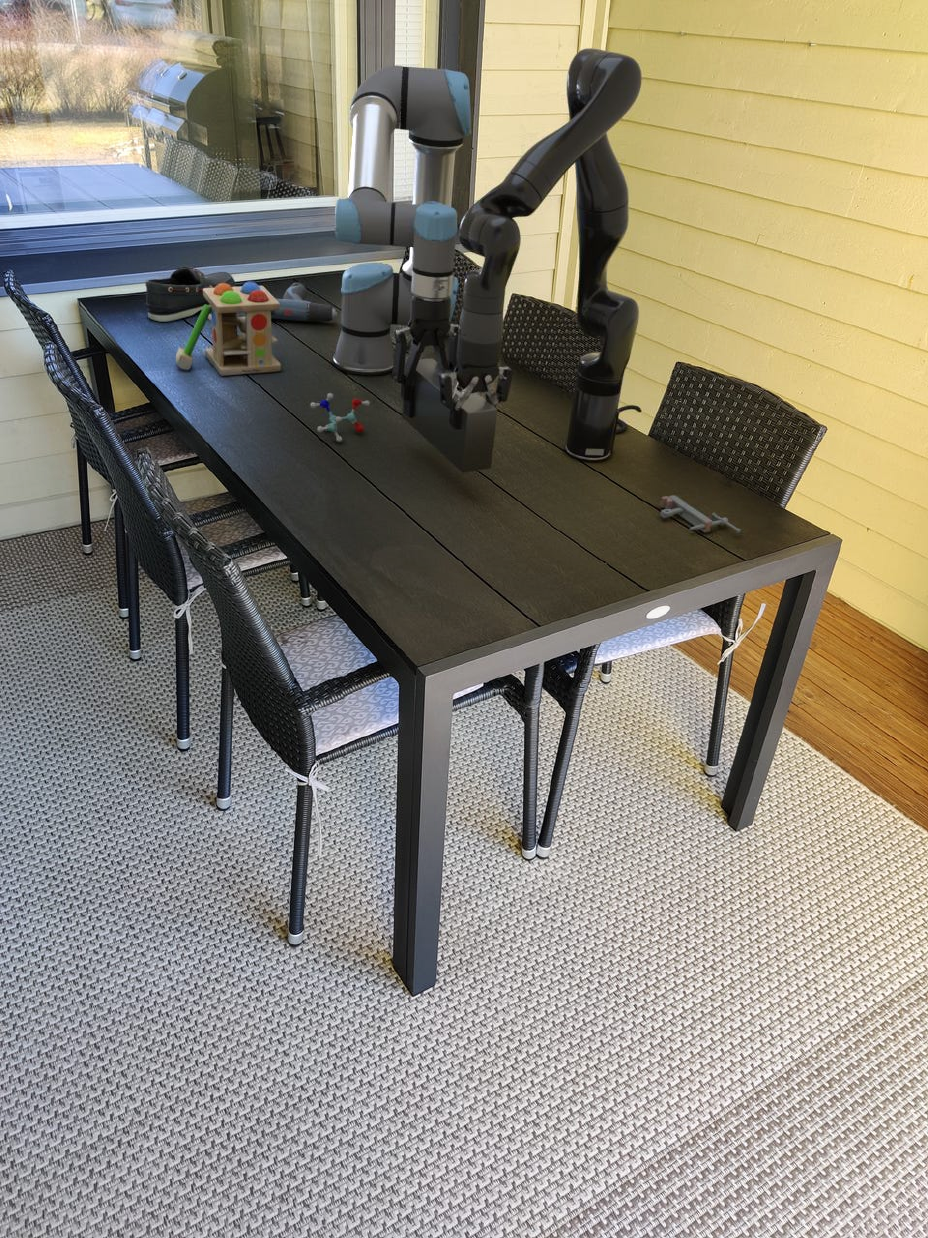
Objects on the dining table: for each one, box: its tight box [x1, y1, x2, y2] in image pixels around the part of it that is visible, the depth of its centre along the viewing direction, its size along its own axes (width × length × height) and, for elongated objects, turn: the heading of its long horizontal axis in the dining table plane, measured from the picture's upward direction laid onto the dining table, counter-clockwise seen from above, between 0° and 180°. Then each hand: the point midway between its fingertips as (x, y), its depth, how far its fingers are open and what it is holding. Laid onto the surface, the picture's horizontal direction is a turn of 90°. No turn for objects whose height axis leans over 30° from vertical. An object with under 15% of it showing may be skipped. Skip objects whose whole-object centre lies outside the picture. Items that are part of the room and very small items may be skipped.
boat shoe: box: [144, 265, 237, 323], centre depth 261 cm, size 13×33×10 cm, turn 147°
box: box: [401, 358, 498, 474], centre depth 185 cm, size 26×6×12 cm, turn 28°
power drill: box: [271, 282, 338, 322], centre depth 265 cm, size 5×19×20 cm
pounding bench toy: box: [174, 281, 282, 377], centre depth 225 cm, size 23×14×18 cm, turn 116°
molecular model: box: [309, 392, 371, 443], centre depth 201 cm, size 12×10×10 cm
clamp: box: [659, 494, 742, 534], centre depth 183 cm, size 15×2×10 cm
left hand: (423, 412), depth 194 cm, fingers closed on box, 6 cm apart
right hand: (471, 425), depth 177 cm, fingers closed on box, 6 cm apart
